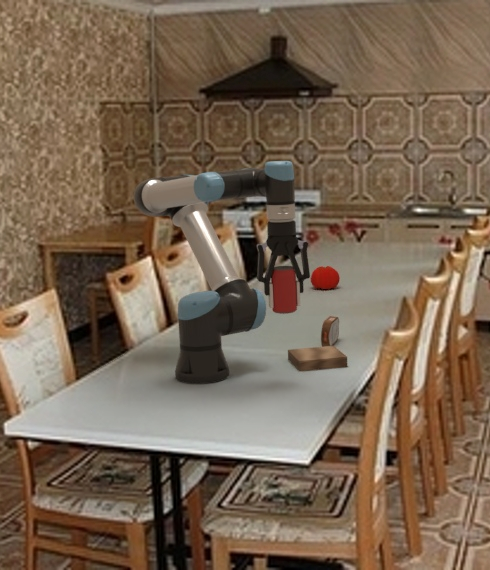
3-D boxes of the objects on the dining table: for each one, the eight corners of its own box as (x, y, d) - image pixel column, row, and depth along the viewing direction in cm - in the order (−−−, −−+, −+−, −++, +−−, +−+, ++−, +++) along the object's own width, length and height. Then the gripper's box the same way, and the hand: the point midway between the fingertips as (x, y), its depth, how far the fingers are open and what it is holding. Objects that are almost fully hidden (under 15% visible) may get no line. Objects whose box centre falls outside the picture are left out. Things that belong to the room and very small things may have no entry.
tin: (331, 338, 306) (330, 313, 305) (341, 339, 305) (340, 313, 304) (320, 350, 292) (319, 323, 291) (330, 350, 291) (329, 323, 290)
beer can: (302, 310, 255) (300, 266, 253) (285, 315, 251) (283, 270, 249) (283, 308, 260) (282, 264, 258) (267, 312, 255) (265, 268, 253)
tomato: (311, 286, 400) (311, 265, 399) (340, 286, 398) (339, 264, 397) (309, 291, 390) (309, 269, 388) (339, 291, 388) (338, 269, 386)
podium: (299, 371, 269) (299, 361, 268) (288, 359, 282) (287, 349, 282) (347, 366, 271) (347, 356, 271) (333, 355, 285) (333, 345, 284)
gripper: (246, 224, 246) (250, 311, 250) (320, 219, 249) (323, 306, 253) (242, 221, 253) (246, 306, 257) (314, 216, 256) (317, 300, 260)
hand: (284, 306), depth 255 cm, fingers closed on beer can, 7 cm apart
